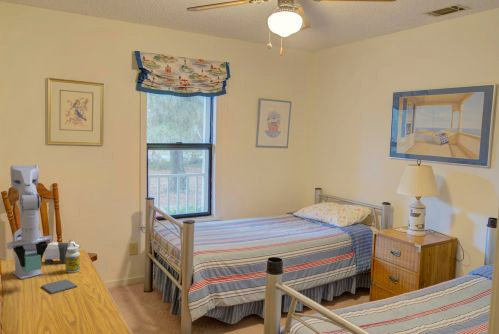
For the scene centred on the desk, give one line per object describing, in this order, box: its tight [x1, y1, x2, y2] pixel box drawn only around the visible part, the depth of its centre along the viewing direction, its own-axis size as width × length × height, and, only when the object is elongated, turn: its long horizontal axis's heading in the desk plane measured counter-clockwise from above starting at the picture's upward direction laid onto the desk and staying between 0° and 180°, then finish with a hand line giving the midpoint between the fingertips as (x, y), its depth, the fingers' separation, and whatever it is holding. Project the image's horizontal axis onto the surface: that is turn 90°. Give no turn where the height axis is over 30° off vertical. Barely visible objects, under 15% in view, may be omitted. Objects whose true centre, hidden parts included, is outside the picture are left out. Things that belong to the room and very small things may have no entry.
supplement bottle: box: [65, 247, 81, 274], centre depth 161 cm, size 5×5×10 cm
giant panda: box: [43, 239, 81, 265], centre depth 171 cm, size 15×6×10 cm, turn 105°
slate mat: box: [41, 278, 78, 295], centre depth 145 cm, size 9×9×1 cm
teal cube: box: [21, 252, 42, 272], centre depth 143 cm, size 5×5×5 cm
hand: (30, 264), depth 143 cm, fingers closed on teal cube, 5 cm apart
